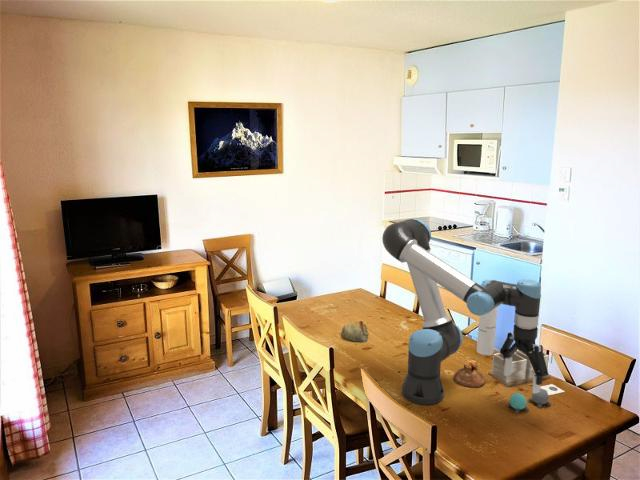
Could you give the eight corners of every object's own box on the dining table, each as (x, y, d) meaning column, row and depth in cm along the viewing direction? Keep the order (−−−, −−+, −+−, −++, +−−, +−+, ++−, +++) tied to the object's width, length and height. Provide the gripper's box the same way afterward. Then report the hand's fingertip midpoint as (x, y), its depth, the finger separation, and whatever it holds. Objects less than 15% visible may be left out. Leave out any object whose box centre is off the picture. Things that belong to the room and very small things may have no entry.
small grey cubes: (516, 413, 173) (517, 411, 173) (506, 406, 178) (506, 403, 178) (550, 405, 179) (551, 403, 179) (539, 398, 184) (539, 395, 183)
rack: (507, 386, 192) (509, 365, 190) (488, 374, 202) (490, 353, 200) (550, 377, 199) (552, 356, 197) (529, 365, 209) (531, 345, 207)
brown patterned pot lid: (471, 371, 204) (472, 355, 202) (491, 385, 193) (492, 368, 192) (447, 376, 200) (448, 359, 198) (465, 390, 189) (467, 373, 187)
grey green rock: (374, 340, 233) (374, 324, 231) (349, 345, 228) (350, 328, 227) (360, 330, 246) (360, 314, 244) (337, 333, 241) (337, 317, 239)
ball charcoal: (539, 408, 177) (540, 394, 176) (527, 400, 182) (529, 386, 181) (551, 405, 179) (553, 391, 178) (539, 398, 184) (541, 384, 183)
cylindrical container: (494, 356, 218) (499, 301, 213) (477, 354, 219) (481, 299, 214) (492, 349, 225) (497, 295, 219) (475, 347, 226) (480, 294, 221)
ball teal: (516, 414, 173) (518, 399, 172) (505, 406, 178) (506, 391, 177) (529, 411, 175) (530, 396, 174) (517, 403, 180) (519, 389, 179)
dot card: (543, 396, 185) (544, 396, 185) (531, 389, 190) (531, 388, 190) (564, 391, 188) (564, 391, 188) (552, 384, 194) (552, 383, 194)
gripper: (564, 337, 160) (557, 398, 164) (508, 312, 183) (504, 366, 187) (545, 340, 157) (540, 402, 162) (492, 314, 180) (488, 369, 184)
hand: (521, 383), depth 174 cm, fingers open, 13 cm apart
